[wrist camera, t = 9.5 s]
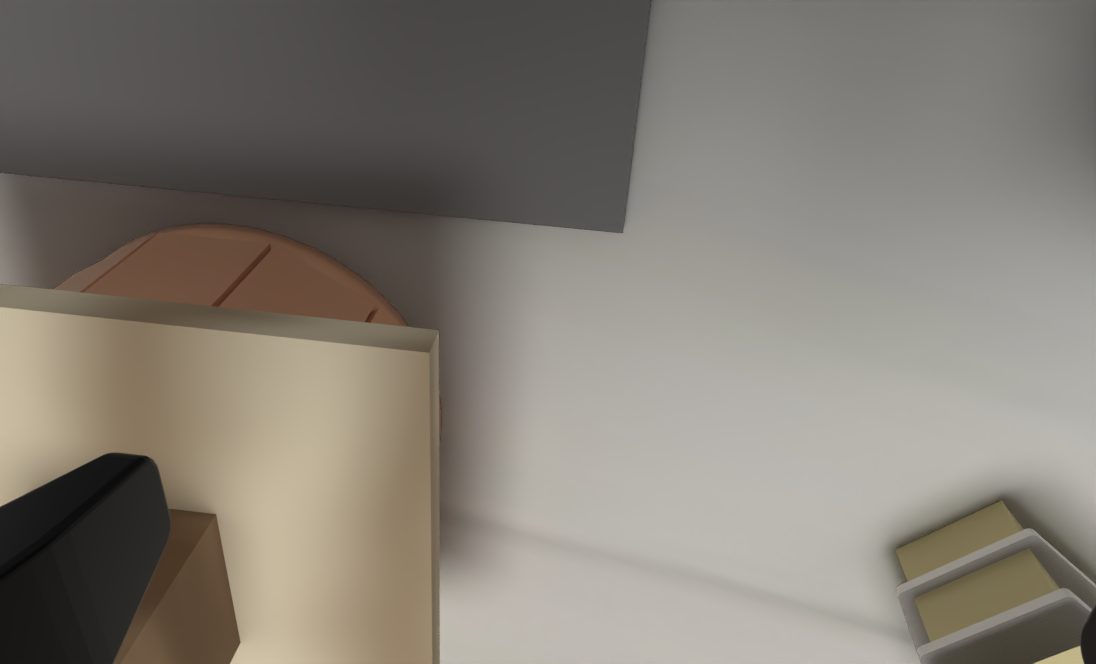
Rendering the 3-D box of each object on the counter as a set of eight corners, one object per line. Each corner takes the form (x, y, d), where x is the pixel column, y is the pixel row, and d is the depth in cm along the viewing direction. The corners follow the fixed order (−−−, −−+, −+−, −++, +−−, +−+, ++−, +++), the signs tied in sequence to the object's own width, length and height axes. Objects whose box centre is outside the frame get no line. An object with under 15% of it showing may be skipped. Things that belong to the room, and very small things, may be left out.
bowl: (442, 242, 21) (378, 370, 15) (443, 553, 26) (396, 722, 21) (27, 202, 21) (-169, 313, 16) (114, 515, 27) (-10, 671, 22)
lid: (438, 329, 15) (340, 566, 10) (440, 750, 22) (380, 1019, 17) (-232, 259, 16) (-643, 449, 11) (-30, 689, 22) (-224, 931, 17)
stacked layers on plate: (767, 548, 25) (798, 708, 20) (1054, 405, 22) (1172, 557, 17) (928, 717, 28) (988, 889, 24) (1200, 616, 25) (1333, 794, 20)
